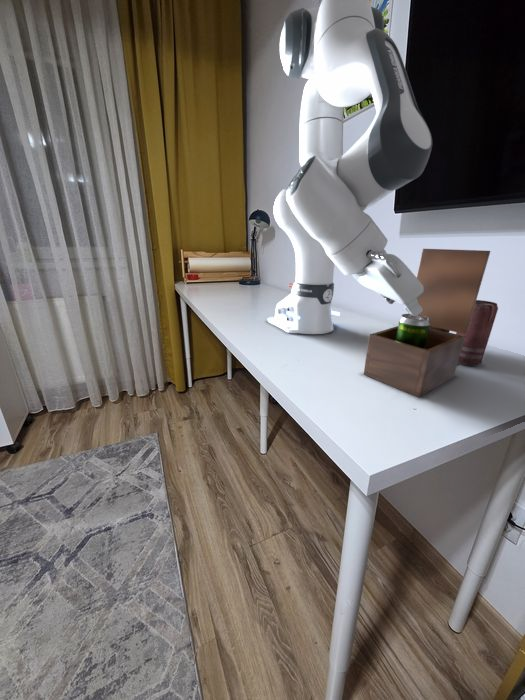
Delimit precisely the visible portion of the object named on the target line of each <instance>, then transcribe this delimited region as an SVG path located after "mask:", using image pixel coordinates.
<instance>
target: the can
mask: <svg viewBox="0 0 525 700" xmlns="http://www.w3.org/2000/svg"><path fill="white" fill-rule="evenodd" d="M498 311H499V306H498V303H496V302H494V301H489V300H482V299H481V300H480V299H476V303H475V306H474V310H473V313H472V317H471V320H470V323H469V327H468V330H467V333H466V334H462V333H458V332H455V334H458V335H462V336H465V339H464V342H463V346H462V349H461V353H460V357H459V360H458V364H459V365H461V366H465V367H477V366H480V365H481V364H482V362H483V359H484V355H485V353H486V349H487V345H488V342H489V339H490V336H491V333H492V330H493V326H494V323H495V320H496V317H497V315H498ZM458 364H457V365H458Z"/></svg>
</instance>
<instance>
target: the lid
mask: <svg viewBox="0 0 525 700" xmlns="http://www.w3.org/2000/svg"><path fill="white" fill-rule="evenodd" d="M421 251H422V252H421V257H420V261H419V265H418V270H417V275H416V278H417V279H418V280H419V281H420V282H421V284H422V285H423V288H424V292H423V293H422V294H421V295H420V296H419V297H418V298H417V300H418V303H419V305H420V306H421V307H422V309H423V311H422V312H421V313H420V314H419V315H424V316H427V317H430V323H431V325H430V326H431V327H436V328H440V329H444V330H449V332H452V333H453V332H455V333H456V332H458V333H462V334H466V333H467V330H468V327H469V323H470V320H471V317H472V313H473V310H474V306H475V303H476V300H478V296H479V293H480V289H481V285H482V282H483V279H484V275H485V272H486V269H487V264H488V262H489V258H490V254H491V250H480V249H479V250H476V249H451V248H449V249H446V248H445V249H444V248H422V250H421Z"/></svg>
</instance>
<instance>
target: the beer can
mask: <svg viewBox="0 0 525 700" xmlns="http://www.w3.org/2000/svg"><path fill="white" fill-rule="evenodd" d="M400 316H401V317H400V318H399V319H398V325H397V326H398V330H397V335H396V340H395V341H399V342H402V343H406V344H409V345H413V346H416V347H420V348H423V349H425V347H426V343H427V339H428V334H429V330H430V325H431V323H430V317H427V316H424V315H417V316H413V315H411V314H409V313H404V314H401V315H400Z"/></svg>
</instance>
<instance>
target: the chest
mask: <svg viewBox="0 0 525 700" xmlns="http://www.w3.org/2000/svg"><path fill="white" fill-rule="evenodd" d="M397 330H398V325H396V326H393V327H390V328H387V329H384V330H380V331H377V332H373V333H369V335H368V341H367V342H368V343H367V349H366V356H365V363H364V368H363V376H366V377H369V378H371V379H374V380H376V381H378V382H380V383H382V384H386V385H388V386H390V387H393V388H395V389H397V390H400V391H403V392H405V393H408V394H410V395H412V396H414V397H417V398H421V397H423V396H424V395H426V394H427V393H429V392H431V391H432V390H434V389H435V388H437V387H440V385H442V384H444V383H445V382H448V381H449V380H450V379H452V378H454V377H455V375H456V371H457V367H458V360H459V357H460V353H461V349H462V346H463V342H464V339H465V336H462V335H458V334H456V333H453V332H450V331H449V332H445V331H440V330H436V329H432V328H430V330H429V334H428V339H427V343H426V347H425V349H423V348H420V347H416V346H413V345H409V344H406V343H402V342H399V341H395V340H396V335H397Z"/></svg>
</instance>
